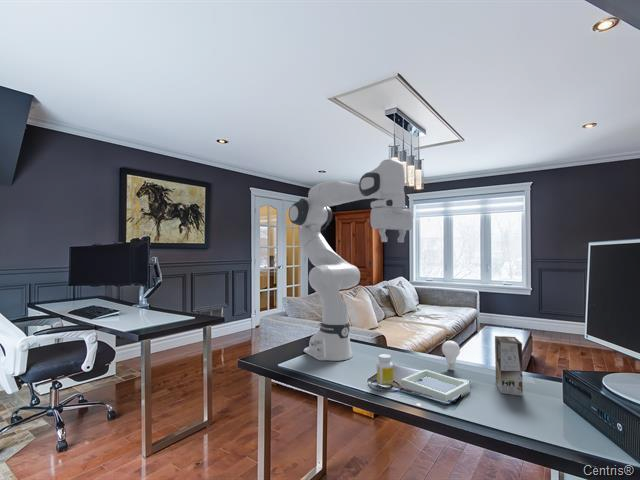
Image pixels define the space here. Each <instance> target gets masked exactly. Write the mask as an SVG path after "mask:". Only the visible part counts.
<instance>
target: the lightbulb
mask: <svg viewBox="0 0 640 480" xmlns="http://www.w3.org/2000/svg"><path fill="white" fill-rule="evenodd" d="M441 351H442V354H443V355H444V357H445V360H446V363H447V365H446V366H447V370H449V371H452V372H453V371H454V370H456V365H455V364H456V361H457V358H458V356H459V355H460V353H461V349H460V346H459V344H458V342H456V341H454V340H446V341H444V342H443V343H442V345H441Z"/></svg>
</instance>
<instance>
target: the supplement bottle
mask: <svg viewBox="0 0 640 480" xmlns="http://www.w3.org/2000/svg"><path fill="white" fill-rule="evenodd" d="M378 360H379V361H377V363H376V379H377V381H376V384H377V383H378V384H380V385H392V384H393V385H394V382H393V380H394V364H393V362H391V361H392V356H391V355H390V354H388V353H384V354H383V353H382V354H379V355H378Z"/></svg>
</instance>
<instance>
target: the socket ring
mask: <svg viewBox="0 0 640 480" xmlns="http://www.w3.org/2000/svg"><path fill="white" fill-rule="evenodd" d="M367 385H368V386H369V388H370V389H372V390H373V391H376V392H382V393H394V392H396V391H394V389H380V388H377V387H374V386H373V385H372V384H371V385H370V384H369V382H368V384H367Z"/></svg>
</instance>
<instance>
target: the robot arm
mask: <svg viewBox="0 0 640 480" xmlns="http://www.w3.org/2000/svg"><path fill="white" fill-rule="evenodd" d="M404 168H405V167H404V164H403V163H402V162H401V161H399V160H397V159H384V160H382V161H381V162H380V164H378V166H377V167H375V168H374V169H373V170H370V171H368V172H366V173H364V174H363V175H362V176H361V178H360V179H359V182H358V184H356V183H350V182H346V181H341V180H327V181H324V182H320V183H318V184H315V185H314V186H312V187H311V188H310V189H309V190H308V196H307V198H299V200H298V201H296V202H293V204H291V206H290V208H289V210H288V217H289V221H290V222H291V223H292V224H294V225H296V226H302V227H301V228H300V230H299V231H298V235H297V236H298V237H297V238H298V240H299V241H298V242H299V243H300V246H301V248H302V250H303V251H304V253H305V255H306V256H307V258H308V260H309V262H311V264H312V265H313V266H314V267H312V268H311V270H309V274H308V283H309V285H310V287H311V288H312V289H313V290H314V291H315V292H316V293H317V295H318V297H319V299H320V302H321V303H320V304H321V307H322V308H321V310H322V315H321V316H322V317H321V318H322V322H319V323H318V326H320V327H319V330H318V331H317V332H316V333H315V334H313V335H312V336H311V337H310V339H309V345H308V346H307V347H305V348H304V349H303V352H304V353H306V354H308V355H309V356H311V357H312V358H314V359H316V360H318V361H330V362H331V361H333V362H334V361H335V362H337V361H344V360H345V361H346V360H349V359H351V358H352V357H353V349H352V347H351V338H350V333H349V332H350V322H349V304H348V302H347V301H346V300H344V299H343V298H342V297H341V292H340V290H349V289H350V288H354V287H356V286H357V285H358V284H359V283H360V280H361V272H360V269H359V268H358V267H357V266H356V265H353V264H351V263H349V262H348V261H347V260H345V259H343V257H341V256H340V255H339V254H337V253H336V252H335V251H334V250H333V248H332V247H331V246H330V244H329V243H328V242H327V240H326V238H325V237H324V236H323V234H322V232H321V231H324V230H326V228H327V227H328V226H329V225H330V223H331V221H332V219H333V211H332V209H331V208H330V207H334V206H338V205H342V204H346V203H351V202H356V201H363V200H369V199H371V200H372V199H376V200H374V201H373V200H372V201H371V202H370V208H371V210H370V218H369V219H370V226H371V228H372V229H375V230H376V229H377V230H378V233H379V235H380V240H381V242H382V243H387V242H388V238H389V237H388V236H387V234H386V232H387V230H392V231H393V230H394V231H398V234H399V236H398V237H397V243H404V242H405V236H406V233H407V231H411V230H412V229H413V216H412V212H411V209H410V208H409V206H407V205H406V193H405V184H406V183H405V182H406V181H405V180H406V179H405V178H406V177H405V169H404Z"/></svg>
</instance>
